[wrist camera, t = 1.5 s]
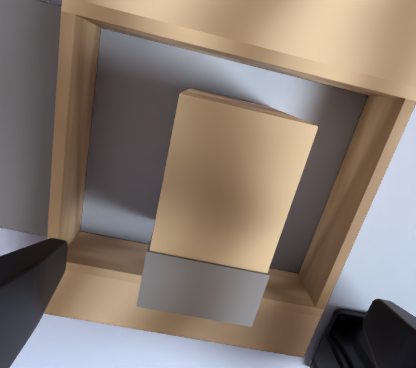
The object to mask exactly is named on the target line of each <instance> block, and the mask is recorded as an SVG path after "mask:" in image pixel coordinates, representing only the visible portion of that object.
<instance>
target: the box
mask: <svg viewBox="0 0 416 368" xmlns="http://www.w3.org/2000/svg"><path fill="white" fill-rule="evenodd" d="M318 127H319V126H316V125H314V124H311V123H309V122H306V121H304V120H301V119H299V118H296V117H294V116H291V115H289V114H286V113H284V112H281V111H279V110H276V109H274V108H271V107H267V106H263V105H259V104H255V103H251V102H247V101H243V100H238V99H234V98H230V97H226V96H222V95H218V94H214V93H209V92H205V91H201V90H197V89H193V88H189V89H187V90H185V91H183V92H181V93H180V94H179V99H178V104H177V109H176V115H175V120H174V125H173V130H172V135H171V141H170V146H169V151H168V156H167V162H166V167H165V172H164V177H163V182H162V188H161V193H160V198H159V203H158V209H157V214H156V219H155V224H154V230H153V234H152V237H151V240H150V243H149V246H148V249H147V252H146V257H145V262H144V268H143V273H142V278H141V284H140V289H139V294H138V300H137V305H136V307H141V308H147V309H153V310H158V311H164V312H170V313H175V314H181V315H187V316H192V317H198V318H203V319H209V320H215V321H220V322H226V323H232V324H237V325H243V326H249V327H252V325H253V322H254V319H255V316H256V313H257V311H258V308H259V305H260V302H261V299H262V296H263V294H264V291H265V288H266V285H267V282H268V280H269V277H270V274H269V271H268V270H269V267H270V264H271V261H272V258H273V255H274V253H275V250H276V247H277V244H278V241H279V238H280V235H281V233H282V230H283V227H284V224H285V221H286V218H287V215H288V213H289V210H290V207H291V204H292V201H293V198H294V195H295V193H296V190H297V187H298V184H299V181H300V178H301V175H302V173H303V170H304V167H305V164H306V161H307V158H308V155H309V153H310V150H311V147H312V144H313V141H314V138H315V135H316V132H317V130H318Z"/></svg>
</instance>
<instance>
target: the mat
mask: <svg viewBox="0 0 416 368" xmlns="http://www.w3.org/2000/svg"><path fill="white" fill-rule="evenodd" d="M61 7H62V6H59V5H55V4H51V3H47V2H43V1H39V0H0V227H1V228H6V229H11V230H16V231H22V232H27V233H32V234H37V235H43V236H47V235H48V218H49V202H50V186H51V170H52V153H53V137H54V121H55V105H56V88H57V72H58V56H59V40H60V23H61Z"/></svg>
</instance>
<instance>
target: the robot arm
mask: <svg viewBox="0 0 416 368" xmlns="http://www.w3.org/2000/svg"><path fill="white" fill-rule="evenodd" d="M67 251H68V243H67V241H66V240H62V239H57V238H49V239H47V240H44V241H41V242H38V243H36V244H33V245H30V246H27V247H25V248H22V249H19V250H16V251H14V252H11V253H8V254H5V255H3V256H0V368H10V366H11V365H12V363H13V362H14V360H15V359H16V357H17V355H18V354H19V352H20V351H21V349H22V348H23V346H24V345H25V343H26V342H27V340H28V339H29V337H30V336H31V334H32V333H33V331H34V330H35V328H36V326H37V325H38V323H39V321H40V319H41V317H42V316H43V314H44V312H45V310H46V308H47V306H48V304H49V302H50V300H51V298H52V296H53V294H54V292H55V290H56V288H57V287H58V285H59V283H60V281H61V279H62V277H63V275H64V272H65V269H66V263H67ZM341 316H342V317H341ZM310 368H416V317H414V316H413V315H411V314H410V313H408V312H407V311H405V310H404V309H402V308H400V307H399V306H397V305H396V304H394V303H393V302H391V301H388V300H382V299H375V300H374V301H373V302H372V304H371V306H370V308H369V310H368V312H367V314H363V313H358V312H353V311H347V310H337V311H336V312H335V313H334V315H333V317H332V319H331V321H330V323H329V326H328V328H327V330H326V332H325V334H324V336H323V338H322V340H321V342H320V344H319V347H318V349H317V351H316V353H315V355H314V358H313V360H312V363H311V365H310Z"/></svg>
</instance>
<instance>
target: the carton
mask: <svg viewBox="0 0 416 368" xmlns="http://www.w3.org/2000/svg"><path fill="white" fill-rule="evenodd" d="M101 28H104V29H108V30H112V31H116V32H120V33H124V34H128V35H132V36H136V37H140V38H144V39H148V40H152V41H156V42H160V43H164V44H168V45H172V46H176V47H179V48H183V49H187V50H191V51H195V52H199V53H203V54H207V55H211V56H215V57H219V58H223V59H227V60H231V61H235V62H239V63H243V64H247V65H251V66H255V67H259V68H263V69H267V70H271V71H275V72H279V73H282V74H286V75H290V76H294V77H298V78H302V79H306V80H310V81H314V82H318V83H322V84H326V85H330V86H334V87H338V88H342V89H346V90H350V91H354V92H358V93H362V94H366V95H368V98H367V100H366V103H365V106H364V108H363V111H362V113H361V116H360V118H359V121H358V123H357V126H356V129H355V131H354V134H353V136H352V139H351V141H350V144H349V146H348V149H347V152H346V154H345V157H344V159H343V162H342V164H341V167H340V170H339V172H338V175H337V177H336V180H335V182H334V185H333V187H332V190H331V193H330V195H329V198H328V200H327V203H326V205H325V208H324V210H323V213H322V216H321V218H320V221H319V223H318V226H317V228H316V231H315V233H314V236H313V239H312V241H311V244H310V246H309V249H308V251H307V254H306V256H305V259H304V262H303V264H302V267H301V269H300V272H299V274H298V273H292V272H287V271H282V270H277V269H272V268H269V270H268V271H269V274H270V277H269V280H268V282H267V285H266V288H265V291H264V294H263V296H262V299H261V302H260V305H259V308H258V311H257V313H256V316H255V319H254V322H253V325H252V327H249V326H243V325H237V324H232V323H226V322H220V321H215V320H209V319H203V318H198V317H192V316H187V315H181V314H175V313H170V312H164V311H158V310H153V309H147V308H141V307H136V305H137V300H138V294H139V289H140V284H141V278H142V273H143V268H144V262H145V257H146V252H147V249H148V246H149V245H148V244H143V243H138V242H133V241H128V240H122V239H117V238H112V237H107V236H102V235H97V234H92V233H86V232H81V231H80V229H81V219H82V210H83V200H84V190H85V180H86V170H87V160H88V151H89V141H90V131H91V121H92V111H93V101H94V92H95V82H96V72H97V62H98V52H99V42H100V33H101ZM415 105H416V0H62V7H61V23H60V40H59V56H58V72H57V88H56V105H55V121H54V137H53V153H52V170H51V186H50V202H49V218H48V235H47V239H49V238H57V239H62V240H66V241H67V243H68V251H67V263H66V269H65V272H64V275H63V277H62V279H61V281H60V283H59V285H58V287H57V288H56V290H55V292H54V294H53V296H52V298H51V300H50V302H49V304H48V306H47V308H46V310H45V312H44V314H50V315H56V316H62V317H68V318H74V319H80V320H85V321H91V322H97V323H103V324H109V325H115V326H121V327H127V328H133V329H138V330H144V331H150V332H156V333H162V334H168V335H174V336H180V337H186V338H192V339H197V340H203V341H209V342H215V343H221V344H227V345H233V346H239V347H245V348H250V349H256V350H262V351H268V352H274V353H280V354H286V355H292V356H298V357H304V354H305V352H306V350H307V348H308V345H309V343H310V341H311V339H312V336H313V334H314V332H315V330H316V327H317V325H318V323H319V321H320V318H321V316H322V314H323V312H324V309H325V307H326V305H327V303H328V300H329V298H330V296H331V294H332V291H333V289H334V287H335V285H336V282H337V280H338V278H339V276H340V273H341V271H342V269H343V267H344V264H345V262H346V260H347V258H348V255H349V253H350V251H351V249H352V246H353V244H354V242H355V240H356V237H357V235H358V233H359V231H360V228H361V226H362V224H363V222H364V219H365V217H366V215H367V213H368V210H369V208H370V206H371V204H372V201H373V199H374V197H375V195H376V192H377V190H378V188H379V186H380V184H381V181H382V179H383V177H384V175H385V172H386V170H387V168H388V166H389V163H390V161H391V159H392V157H393V154H394V152H395V150H396V148H397V145H398V143H399V141H400V139H401V136H402V134H403V132H404V130H405V127H406V125H407V123H408V121H409V118H410V116H411V114H412V112H413V109H414V107H415Z"/></svg>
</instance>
